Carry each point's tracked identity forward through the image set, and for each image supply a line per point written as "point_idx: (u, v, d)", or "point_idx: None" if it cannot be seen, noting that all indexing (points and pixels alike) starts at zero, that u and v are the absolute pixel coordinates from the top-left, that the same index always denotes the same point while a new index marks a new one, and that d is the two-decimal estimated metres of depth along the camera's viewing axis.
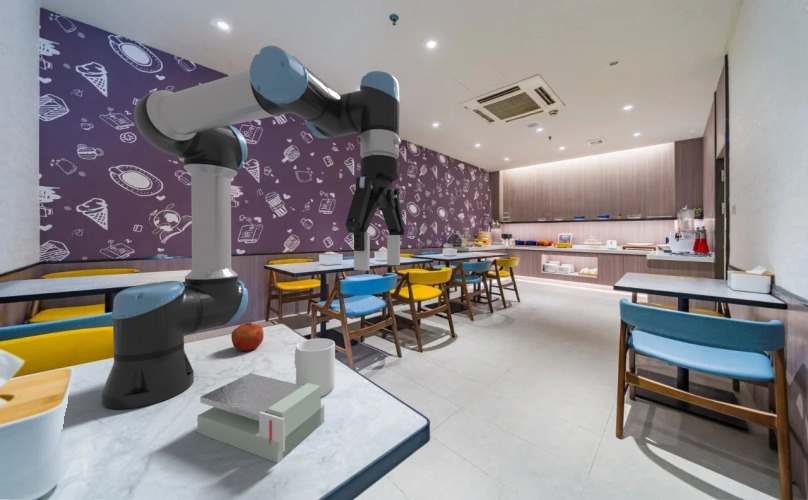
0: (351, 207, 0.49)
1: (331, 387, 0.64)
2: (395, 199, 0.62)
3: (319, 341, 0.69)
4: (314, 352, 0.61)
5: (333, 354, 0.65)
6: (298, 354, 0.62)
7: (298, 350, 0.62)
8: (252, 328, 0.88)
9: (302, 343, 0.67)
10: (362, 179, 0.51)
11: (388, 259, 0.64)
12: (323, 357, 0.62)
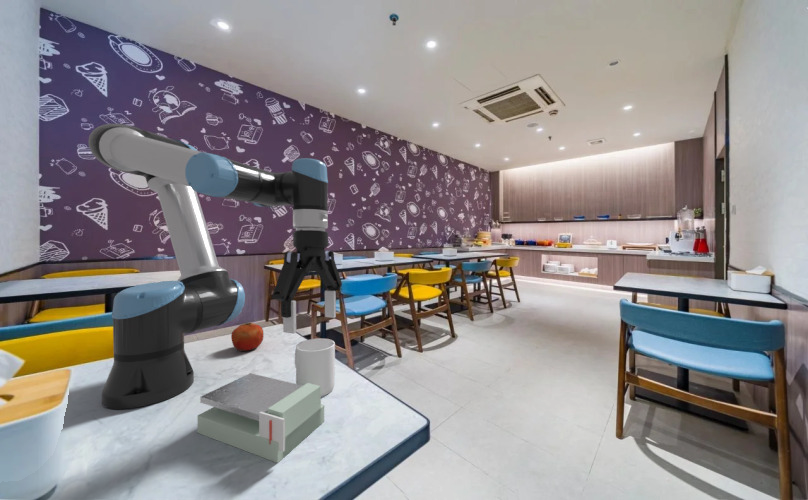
0: (278, 280, 0.58)
1: (331, 387, 0.64)
2: (330, 260, 0.71)
3: (319, 341, 0.69)
4: (314, 352, 0.61)
5: (333, 354, 0.65)
6: (298, 354, 0.62)
7: (298, 350, 0.62)
8: (252, 328, 0.88)
9: (302, 343, 0.67)
10: (289, 254, 0.59)
11: (325, 312, 0.72)
12: (323, 357, 0.62)
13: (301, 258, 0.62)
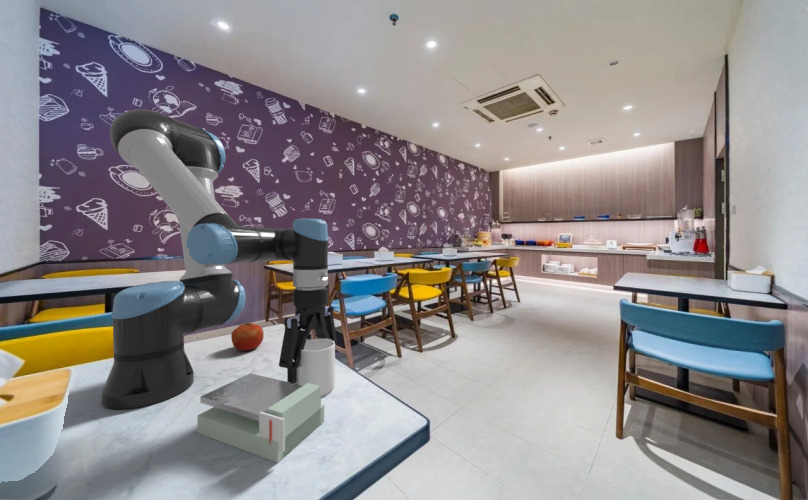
0: (282, 348, 0.59)
1: (331, 387, 0.64)
2: (328, 316, 0.71)
3: (319, 341, 0.69)
4: (314, 352, 0.61)
5: (333, 354, 0.65)
6: None
7: None
8: (252, 328, 0.88)
9: None
10: (289, 322, 0.60)
11: None
12: (323, 357, 0.62)
13: (301, 320, 0.62)
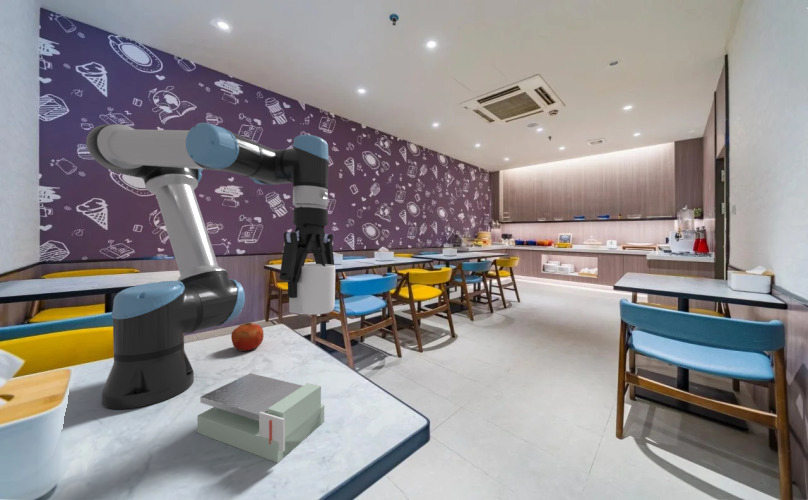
0: (282, 262, 0.59)
1: (331, 306, 0.64)
2: (328, 243, 0.70)
3: (319, 266, 0.69)
4: (315, 268, 0.61)
5: (333, 275, 0.65)
6: None
7: None
8: (252, 328, 0.88)
9: None
10: (288, 235, 0.59)
11: None
12: (324, 274, 0.62)
13: (301, 236, 0.62)
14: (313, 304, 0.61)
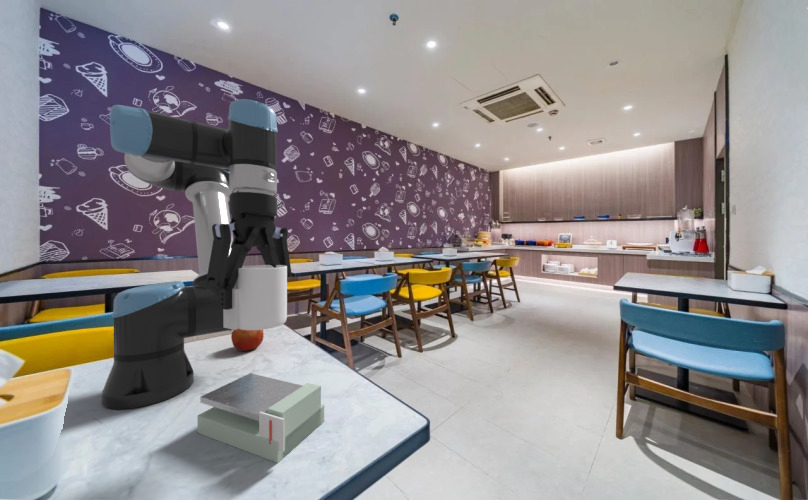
0: (210, 263, 0.46)
1: (280, 319, 0.50)
2: (280, 238, 0.56)
3: (269, 268, 0.55)
4: (255, 270, 0.47)
5: (283, 278, 0.51)
6: None
7: None
8: None
9: (246, 267, 0.53)
10: (217, 228, 0.45)
11: None
12: (268, 278, 0.48)
13: (237, 229, 0.48)
14: (253, 316, 0.47)
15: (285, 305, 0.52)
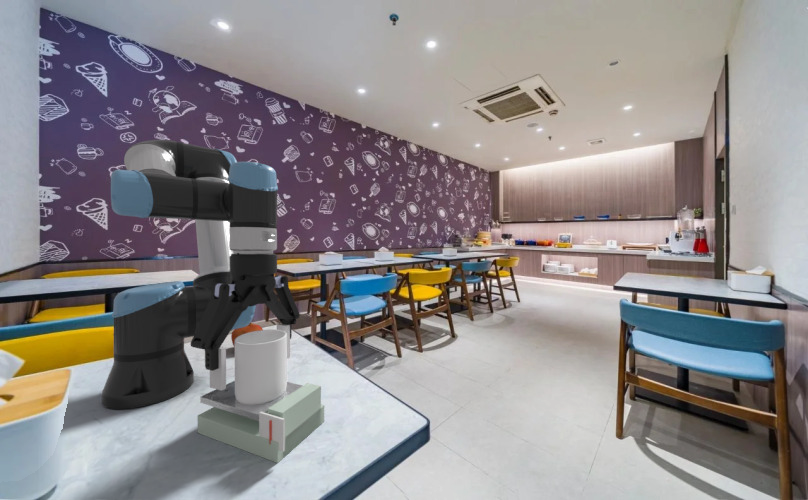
0: (201, 322, 0.44)
1: (280, 390, 0.50)
2: (282, 288, 0.57)
3: (269, 333, 0.55)
4: (255, 346, 0.47)
5: (283, 348, 0.51)
6: (236, 348, 0.48)
7: (236, 343, 0.48)
8: (252, 328, 0.88)
9: (246, 335, 0.53)
10: (217, 287, 0.46)
11: None
12: (268, 352, 0.48)
13: (236, 290, 0.48)
14: (254, 392, 0.48)
15: (285, 374, 0.52)
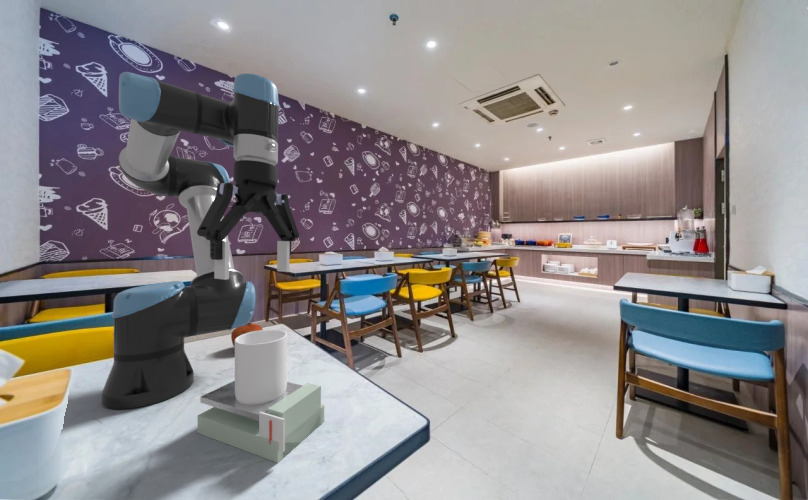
0: (206, 215, 0.48)
1: (280, 390, 0.50)
2: (283, 204, 0.61)
3: (269, 333, 0.55)
4: (255, 346, 0.48)
5: (283, 348, 0.51)
6: (236, 348, 0.48)
7: (236, 343, 0.48)
8: (252, 328, 0.88)
9: (246, 335, 0.53)
10: (222, 185, 0.49)
11: (278, 265, 0.63)
12: (268, 352, 0.48)
13: (239, 193, 0.52)
14: (254, 392, 0.48)
15: (285, 374, 0.52)
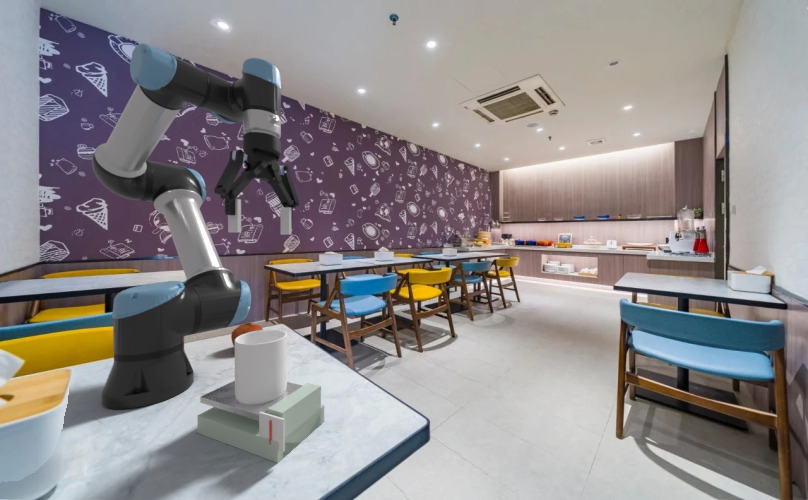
0: (221, 176, 0.56)
1: (280, 390, 0.50)
2: (285, 174, 0.69)
3: (269, 333, 0.55)
4: (255, 346, 0.48)
5: (283, 348, 0.51)
6: (236, 348, 0.48)
7: (236, 343, 0.48)
8: (252, 328, 0.88)
9: (246, 335, 0.53)
10: (234, 152, 0.58)
11: (281, 229, 0.71)
12: (268, 352, 0.48)
13: (249, 159, 0.60)
14: (254, 392, 0.48)
15: (285, 374, 0.52)
